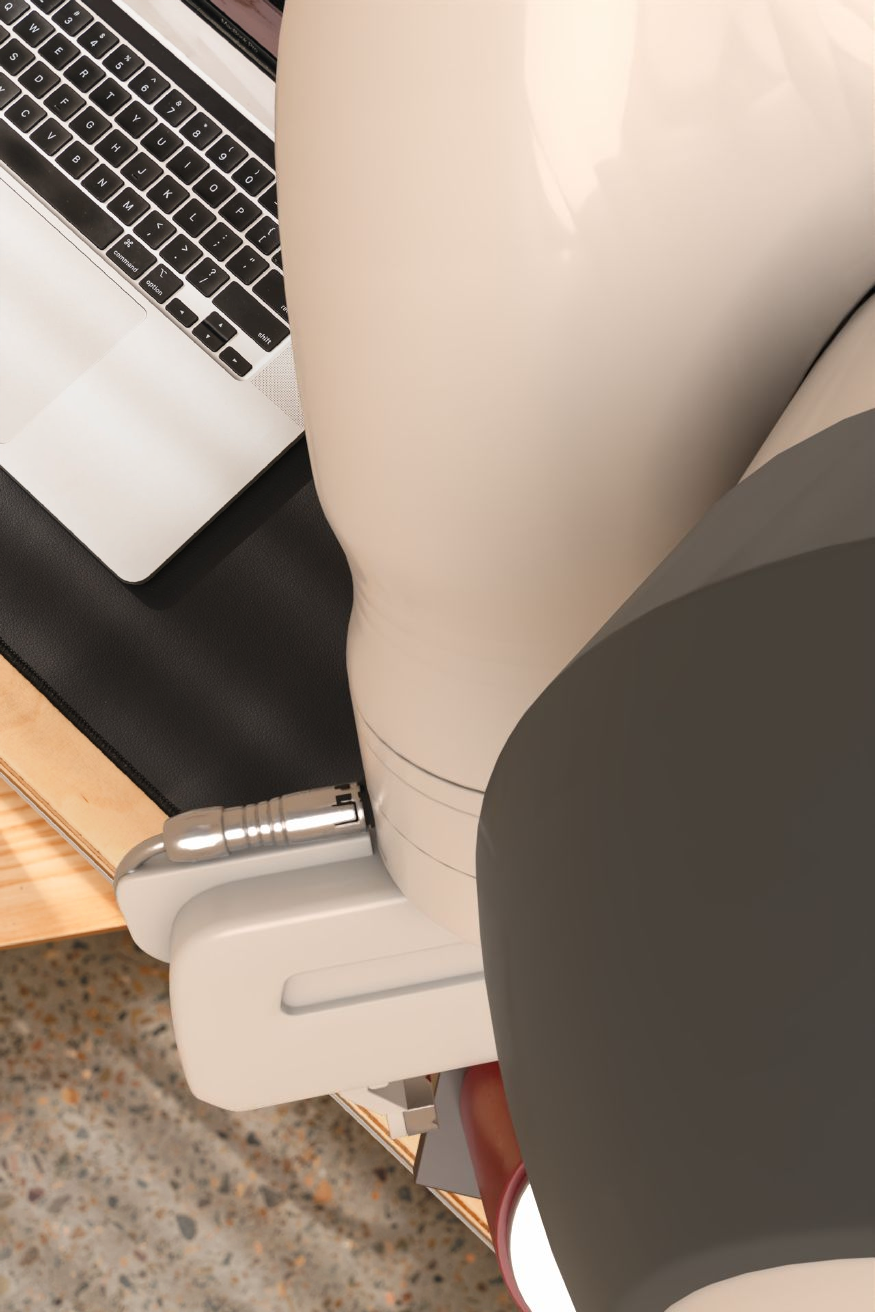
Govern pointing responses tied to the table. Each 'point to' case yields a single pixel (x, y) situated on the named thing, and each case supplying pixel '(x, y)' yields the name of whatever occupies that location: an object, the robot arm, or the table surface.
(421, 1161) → the walnut stand
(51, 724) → the table surface
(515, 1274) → the soda can
